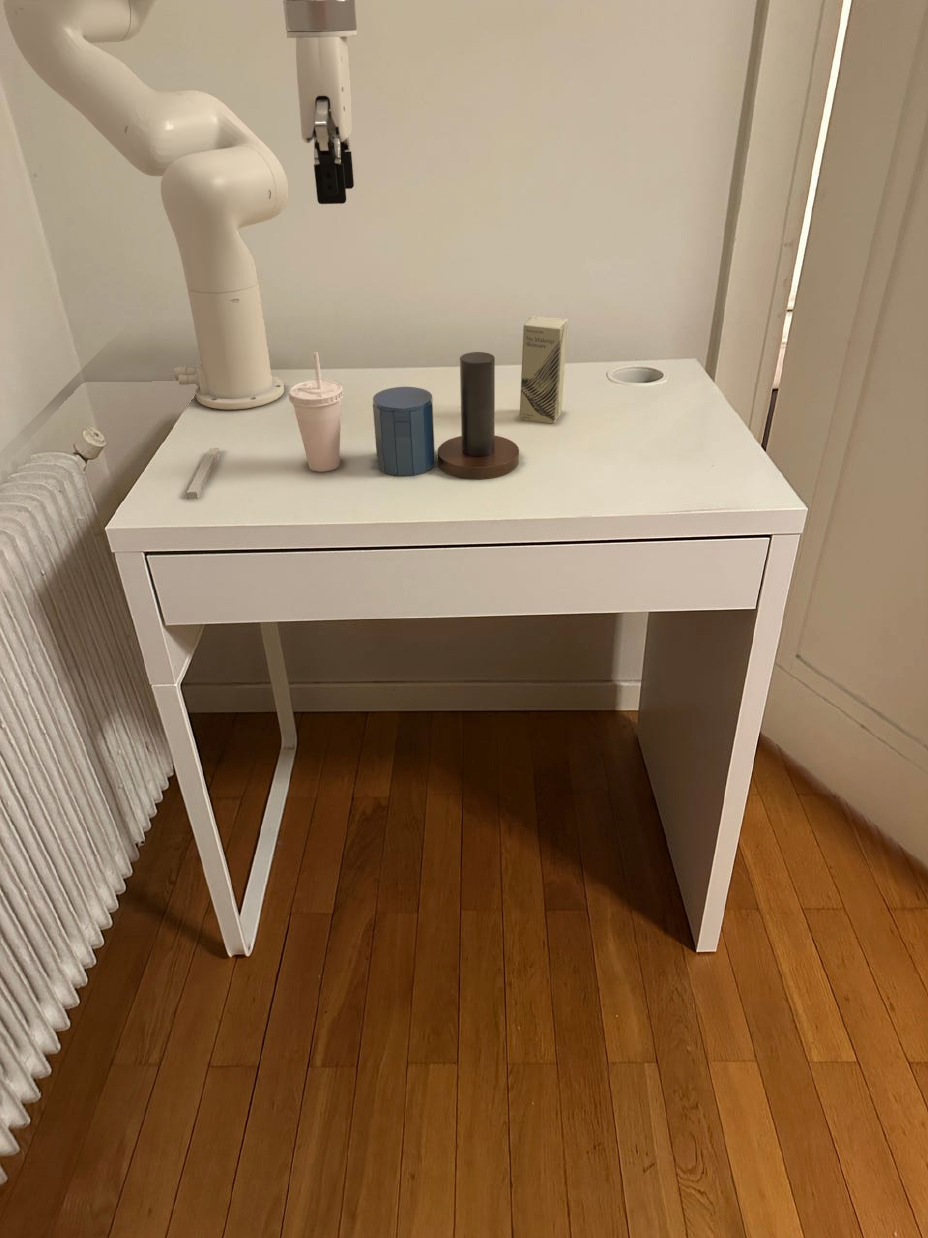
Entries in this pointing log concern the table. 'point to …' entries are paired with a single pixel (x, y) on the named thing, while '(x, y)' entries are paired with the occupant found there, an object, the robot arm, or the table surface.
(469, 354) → the disc
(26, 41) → the robot arm
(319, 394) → the smoothie
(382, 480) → the table surface
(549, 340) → the box
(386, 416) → the blue cylinder
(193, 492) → the grey long thin bar
